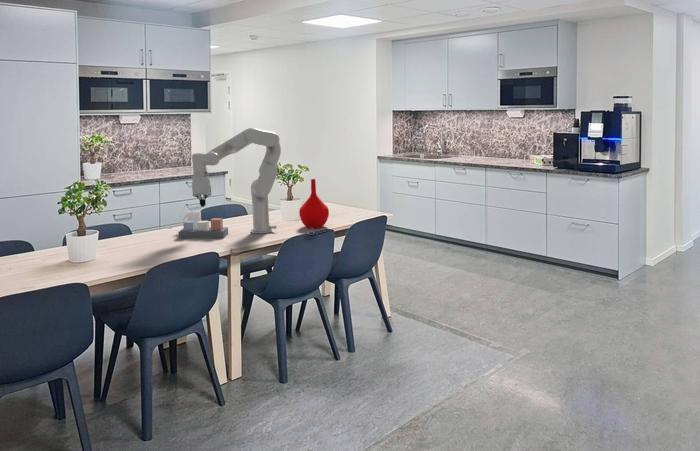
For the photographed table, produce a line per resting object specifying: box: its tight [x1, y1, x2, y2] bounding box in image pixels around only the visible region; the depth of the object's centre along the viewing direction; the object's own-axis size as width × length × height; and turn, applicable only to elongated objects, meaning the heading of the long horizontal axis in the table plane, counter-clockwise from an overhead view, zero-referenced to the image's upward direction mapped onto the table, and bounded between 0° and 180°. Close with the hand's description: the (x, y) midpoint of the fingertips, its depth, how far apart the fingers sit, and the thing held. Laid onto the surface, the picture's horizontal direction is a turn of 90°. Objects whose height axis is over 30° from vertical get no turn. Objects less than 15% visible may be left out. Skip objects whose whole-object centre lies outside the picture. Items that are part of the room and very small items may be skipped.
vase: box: [298, 178, 330, 229], centre depth 376 cm, size 18×18×30 cm
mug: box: [183, 209, 202, 228], centre depth 370 cm, size 12×8×12 cm
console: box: [177, 226, 229, 240], centre depth 355 cm, size 26×12×4 cm, turn 89°
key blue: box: [182, 220, 196, 231], centre depth 355 cm, size 6×6×6 cm
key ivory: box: [197, 220, 210, 231], centre depth 355 cm, size 6×6×6 cm
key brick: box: [210, 217, 224, 230], centre depth 354 cm, size 6×6×6 cm
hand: (203, 206), depth 353 cm, fingers closed
